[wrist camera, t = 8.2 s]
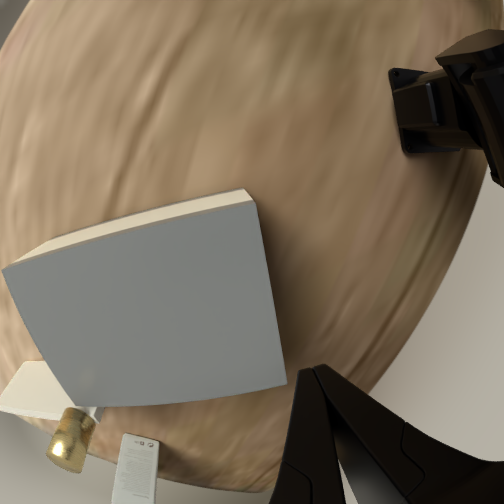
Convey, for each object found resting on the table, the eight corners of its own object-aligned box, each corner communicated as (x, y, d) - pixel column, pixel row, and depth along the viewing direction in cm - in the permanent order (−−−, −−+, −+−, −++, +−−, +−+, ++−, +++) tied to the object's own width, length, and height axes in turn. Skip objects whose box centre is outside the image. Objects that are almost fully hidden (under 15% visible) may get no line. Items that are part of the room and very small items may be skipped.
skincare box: (122, 431, 24) (103, 523, 12) (162, 440, 24) (153, 535, 13) (125, 455, 25) (112, 534, 14) (160, 463, 26) (154, 544, 15)
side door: (113, 347, 20) (69, 455, 10) (125, 370, 21) (92, 476, 10) (20, 354, 19) (-29, 427, 9) (32, 373, 20) (-11, 447, 10)
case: (242, 187, 17) (255, 203, 11) (269, 323, 21) (287, 384, 15) (54, 237, 17) (1, 270, 11) (101, 351, 20) (75, 406, 14)
